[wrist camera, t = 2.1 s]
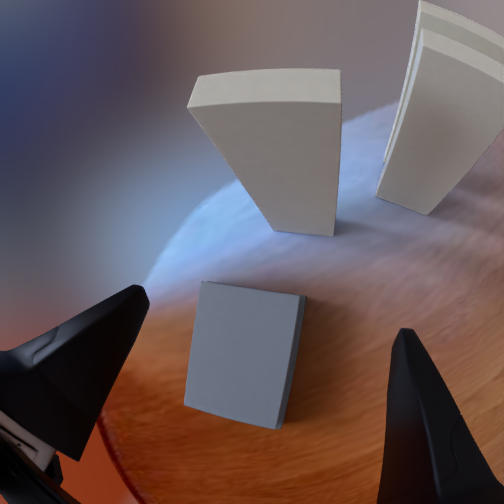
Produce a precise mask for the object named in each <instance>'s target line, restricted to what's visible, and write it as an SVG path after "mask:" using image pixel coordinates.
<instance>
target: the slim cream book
mask: <svg viewBox="0 0 504 504" xmlns="http://www.w3.org/2000/svg"><path fill="white" fill-rule="evenodd" d="M341 87H342V86H341V71H340V70H335V69H308V68H307V69H306V68H304V69H303V68H291V69H290V68H288V69H262V70H247V71H237V72H227V73H218V74H211V75H204V76H199V77H198V79H197V82H196V85H195V88H194V90H193V93H192V95H191V98H190V101H189V103H188V107H187V108H188V110H189V111H190V112H191V113H192V115H193V116H194V118H195V119H196V120H197V122H198V123H199V124H200V126H201V127H202V129H203V130H204V131H205V133H206V134H207V136H208V137H209V138H210V140H211V141H212V143H213V144H214V145H215V147H216V148H217V150H218V151H219V152H220V154H221V155H222V156H223V158H224V159H225V161H226V162H227V164H228V165H229V166H230V168H231V169H232V171H233V172H234V174H235V175H236V176H237V178H238V179H239V181H240V182H241V184H242V185H243V187H244V188H245V189H246V191H247V192H248V194H249V195H250V197H251V198H252V200H253V201H254V203H255V204H256V205H257V207H258V208H259V210H260V211H261V213H262V214H263V216H264V217H265V219H266V220H267V222H268V223H269V225H270V226H271V228H272V229H273V231H280V232H291V233H301V234H310V235H320V236H329V237H333V236H334V228H335V218H336V208H337V197H338V184H339V169H340V152H341V126H342V88H341Z"/></svg>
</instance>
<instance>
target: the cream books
mask: <svg viewBox="0 0 504 504" xmlns="http://www.w3.org/2000/svg"><path fill="white" fill-rule="evenodd" d="M503 129H504V37H502V36H500V35H499V34H497V33H495V32H493V31H492V30H490V29H488V28H486V27H484V26H482V25H480V24H478V23H476V22H474V21H472V20H470V19H467V18H465V17H463V16H460V15H459V14H456V13H454V12H451V11H449V10H446V9H444V8H441V7H438V6H436V5H433V4H430V3H427V2H424V1H421V0H419V5H418V13H417V20H416V26H415V32H414V38H413V44H412V50H411V54H410V59H409V64H408V69H407V73H406V78H405V82H404V86H403V90H402V94H401V98H400V102H399V106H398V110H397V113H396V117H395V121H394V124H393V128H392V131H391V135H390V138H389V141H388V144H387V148H386V152H385V156H384V161H383V163H385V165H384V168H383V171H382V174H381V176H380V179H379V182H378V186H377V190H376V194H375V197H378V198H381V199H383V200H386V201H389V202H392V203H394V204H397V205H400V206H403V207H405V208H408V209H410V210H413V211H416V212H418V213H421V214H423V215H426V216H427V215H428V214H429V213H430V212H431V211H432V210H433V209H434V208H435V207H436V206H437V205H438V204H439V203H440V202H441V201H442V200H443V199H444V198H445V197H446V196H447V195H448V194H449V193H450V191H451V190H452V189H453V188H454V187H455V186H456V185H457V184H458V183H459V182H460V181H461V179H462V178H463V177H464V176H465V175H466V174H467V173H468V172H469V170H470V169H471V168H472V167H473V166H474V165H475V164H476V162H477V161H478V160H479V159H480V158H481V156H482V155H483V154H484V153H485V152H486V150H487V149H488V148H489V147H490V146H491V144H492V143H493V142H494V141H495V139H496V138H497V137H498V135H499V134H500V133H501V132H502V130H503Z"/></svg>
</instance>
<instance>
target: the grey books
mask: <svg viewBox="0 0 504 504" xmlns="http://www.w3.org/2000/svg"><path fill="white" fill-rule="evenodd" d="M306 298H307V297H306V296H304V295H296V294H289V293H282V292H275V291H268V290H261V289H254V288H247V287H241V286H234V285H228V284H221V283H215V282H209V281H207V282H204V281H202V282H201V287H200V293H199V299H198V305H197V312H196V318H195V325H194V331H193V338H192V345H191V352H190V360H189V367H188V375H187V383H186V391H185V400H184V405H186V406H189V407H192V408H195V409H198V410H201V411H204V412H207V413H211V414H214V415H217V416H221V417H224V418H228V419H232V420H236V421H239V422H243V423H247V424H252V425H256V426H260V427H265V428H270V429H276V428H277V429H281V428H282V425H283V422H284V418H285V413H286V409H287V404H288V399H289V395H290V390H291V385H292V380H293V375H294V369H295V364H296V359H297V353H298V348H299V342H300V336H301V330H302V324H303V318H304V312H305V305H306Z"/></svg>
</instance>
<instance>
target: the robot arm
mask: <svg viewBox="0 0 504 504" xmlns="http://www.w3.org/2000/svg"><path fill="white" fill-rule="evenodd" d="M149 305H150V303H149V299H148V297H147V294H146V292H145V289H144V288H143V287H142V286H139V285H131V286H129V287H127V288H126V289H124V290H122V291H120V292H118V293H116V294H114V295H113V296H111V297H109V298H107V299H105V300H103V301H102V302H100V303H98V304H96V305H95V306H93V307H91V308H89V309H87V310H85V311H84V312H82V313H80V314H78V315H76V316H75V317H73V318H71V319H69V320H68V321H66V322H64V323H62V324H60V325H59V326H57V327H55V328H53V329H52V330H50V331H48V332H46V333H44V334H42V335H40V336H38V337H37V338H34V339H32V340H30V341H28V342H26V343H24V344H22V345H20V346H18V347H16V348H14V349H11V350H8V351H0V494H1V495H2V496H3V498H4V499H5V500H6V501H7V502H8V504H81V503H80V502H78V501H77V500H76V499H75V498H73V497H72V496H71V495H70V494H68V493H67V492H66V491H65V490H63V489H62V488H61V487H60V484H61V483H62V481H63V476H62V471H61V466H60V461H59V456H58V455H57V454H55V453H56V452H57V450H58V451H59V452H61V453H63V454H64V455H66V456H68V457H70V458H72V459H73V460H75V461H77V462H79V460H80V458H81V456H82V454H83V451H84V449H85V446H86V444H87V442H88V439H89V437H90V435H91V432H92V430H93V428H94V425H95V423H96V421H97V419H98V416H99V414H100V412H101V410H102V408H103V405H104V403H105V401H106V399H107V397H108V395H109V393H110V391H111V389H112V386H113V384H114V382H115V380H116V378H117V376H118V374H119V372H120V370H121V368H122V366H123V364H124V362H125V360H126V358H127V356H128V354H129V352H130V350H131V348H132V347H133V345H134V343H135V340H136V338H137V336H138V333H139V331H140V328H141V326H142V324H143V321H144V319H145V316H146V314H147V311H148V309H149ZM460 414H461V413H460V411H459V409H458V407H457V405H456V403H455V401H454V399H453V397H452V395H451V393H450V391H449V390H448V388H447V386H446V384H445V382H444V380H443V379H442V377H441V375H440V373H439V371H438V370H437V368H436V366H435V364H434V363H433V361H432V359H431V358H430V356H429V354H428V352H427V351H426V349H425V347H424V346H423V344H422V343H421V341H420V339H419V338H418V336H417V334H416V333H415V331H414V330H413V329H410V328H401V329H400V330H399V332H398V335H397V337H396V339H395V341H394V343H393V346H392V352H391V364H390V373H389V382H388V390H387V413H386V431H385V444H384V455H383V464H382V472H381V479H380V486H379V492H378V498H377V504H504V486H503V485H502V484H501V483H500V482H499V481H498V480H497V479H496V477H495V476H494V474H493V473H492V471H491V469H490V467H489V465H488V463H487V462H486V460H485V458H484V456H483V455H482V453H481V451H480V449H479V448H478V446H477V444H476V442H475V440H474V439H473V437H472V435H471V433H470V431H469V429H468V427H467V425H466V423H465V421H464V419H463V417H462V415H460Z"/></svg>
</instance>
